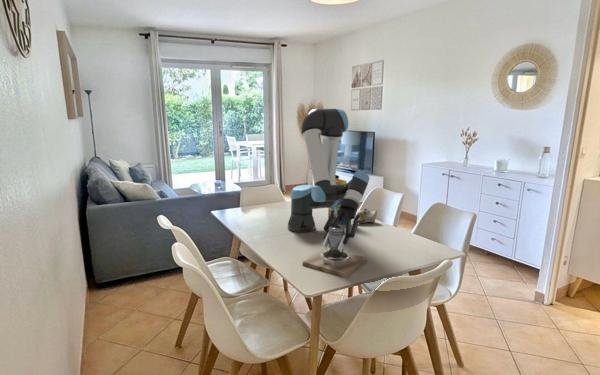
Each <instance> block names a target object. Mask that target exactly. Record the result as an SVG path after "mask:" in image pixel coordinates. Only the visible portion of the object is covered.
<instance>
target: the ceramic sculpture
mask: <svg viewBox="0 0 600 375" xmlns="http://www.w3.org/2000/svg"><path fill="white" fill-rule="evenodd" d="M356 215H359V216H360V217H361V220H360V221H359V223H358V224H366V223H372V224H374V223H375V221H376V219H377V217H378V216H377V215H378V210H373V211H370V210H369V209H368V208H364V209H363V210H359V211H357V212H356ZM354 218H355V217H354ZM354 218H353V219H352V220H353V222H354Z"/></svg>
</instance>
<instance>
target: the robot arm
mask: <svg viewBox="0 0 600 375" xmlns="http://www.w3.org/2000/svg"><path fill="white" fill-rule="evenodd" d="M348 128H349V117H348V115H347V113H346V112H345V111H344V110H343V109H340V108H313V109H311V110H309V111H308V112H306V114H305V115H304V117H303V119H302V122H301V127H300V129H301V130H300V131H301V135H302V138H303V139H304V140H305V145H306V150H307V154H308V160H309V164H310V168H311V173H312V178H313V183H314V185H311V184H302V185H297V186H294V187H293V188H292V189H291V192H290V193H291V194H290V217H289V220H288V221H287V222H288V223H287V230H289V231H291V232H295V233H311V232H312V231H315V230H316V223H315V219H314V216H313V210H314V209H315V210H316V209H317V210H318V209H329V208H330V207H335V206H336V205H337V204H338V203H339V200H341V201H342V203H341V205H340V209H339V210H338V211H334V210H332V211H331V215H330V217H329V219H328V218H327V220H326V222H325V224H324V226H323V230H324V232H325V234H324V237H323V239H324V240H323V244H322V246H323V249H325V248H327V247H328V243H329V227H330V226H333V225H338V226H339V225H340V223H341V222H342V221H345V222H346V223H345V232H344V235H343V237H342V239H341V242H340V244H339V247H338V250H339V252H342V249H343V247H345V246H346V245H347V244H348V242H349V239H351V238H352V239H353V238H355V236H356V234H357V229H358V226H359V224H360V223H359V221H360V220H361V217H360V216H359V215H357V213H358V210H359V207H360V204H361V202H362V199H363V196H365V195H364V194H365V192H366V190H367V188H368V185H369V181H370V175H369V174H368V173H366V172H365V171H361V170H357V171H355V172H354V173H353V175H352V176H351V177H352V178H351V179H350V180H349V181H348V182H347V183H346V184H339V185H337V184H336V183H335V178H336V173H337V163H338V155H339V154H338V153H339V144H340V139H341V138H342V137H343V135H344V133H345V132H346V131H348ZM337 214H338V216H337V217H336V215H337ZM335 217H336V219H335ZM354 217H355V218H354ZM353 218H354V219H353ZM334 219H335V221H334ZM352 220H353V221H354V222H353V223H352ZM351 224H352V225H351Z"/></svg>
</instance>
